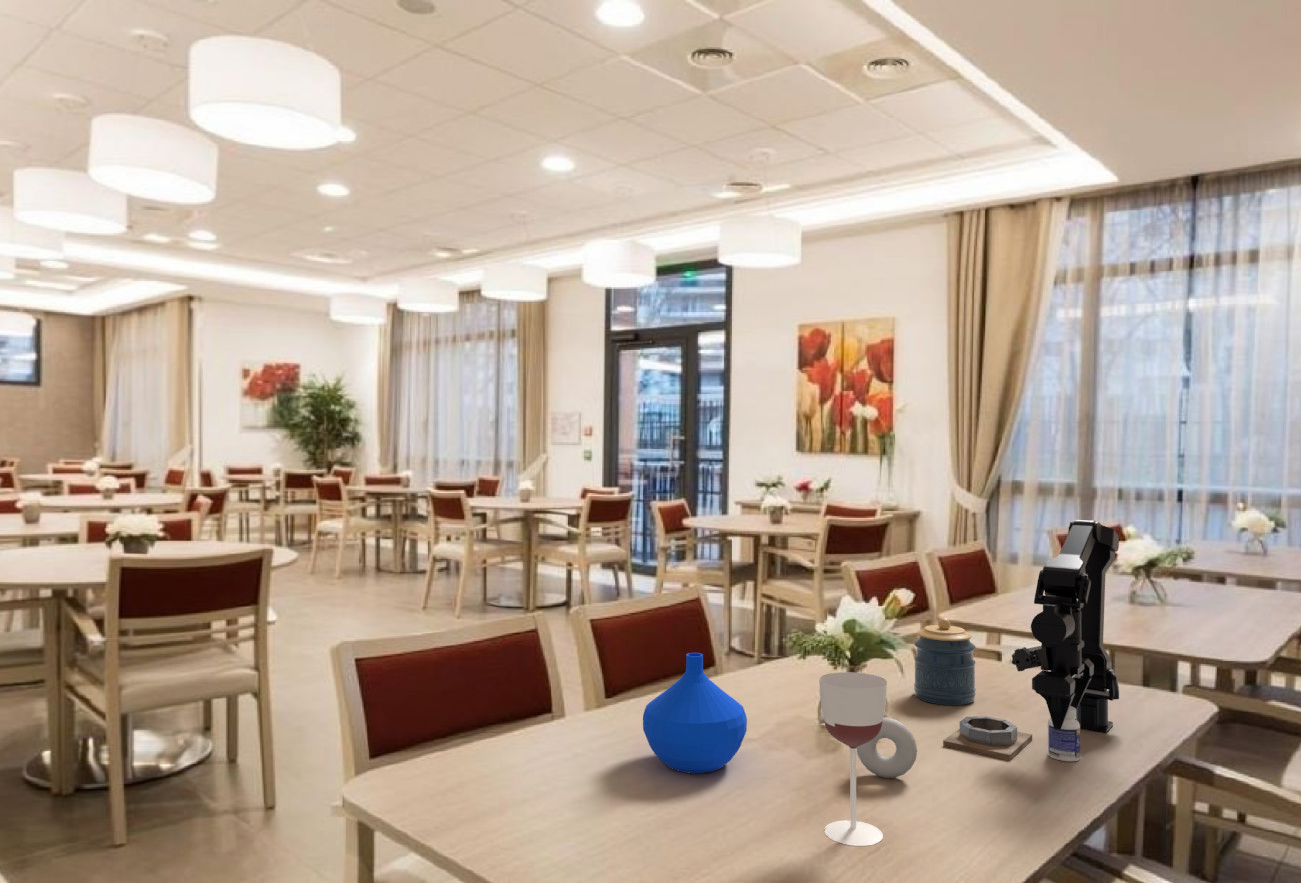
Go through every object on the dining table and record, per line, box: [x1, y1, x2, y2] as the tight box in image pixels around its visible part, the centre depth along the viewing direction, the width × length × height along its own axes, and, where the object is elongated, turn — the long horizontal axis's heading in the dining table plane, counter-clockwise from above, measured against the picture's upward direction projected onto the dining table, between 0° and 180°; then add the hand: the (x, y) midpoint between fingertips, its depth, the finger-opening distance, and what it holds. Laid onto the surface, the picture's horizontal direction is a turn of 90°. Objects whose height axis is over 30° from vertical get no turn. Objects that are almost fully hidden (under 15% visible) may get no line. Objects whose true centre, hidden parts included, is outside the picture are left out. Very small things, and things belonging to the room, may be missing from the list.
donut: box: [856, 716, 918, 779], centre depth 146 cm, size 10×4×10 cm, turn 71°
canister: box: [913, 617, 977, 706], centre depth 192 cm, size 13×13×18 cm
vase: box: [642, 652, 748, 774], centre depth 153 cm, size 18×18×19 cm
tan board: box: [942, 728, 1033, 761], centre depth 163 cm, size 14×12×1 cm
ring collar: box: [959, 715, 1018, 746], centre depth 163 cm, size 9×9×2 cm
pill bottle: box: [1047, 706, 1081, 763], centre depth 155 cm, size 5×5×9 cm
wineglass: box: [819, 671, 888, 847], centre depth 125 cm, size 9×10×22 cm
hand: (1064, 722), depth 156 cm, fingers open, 9 cm apart
